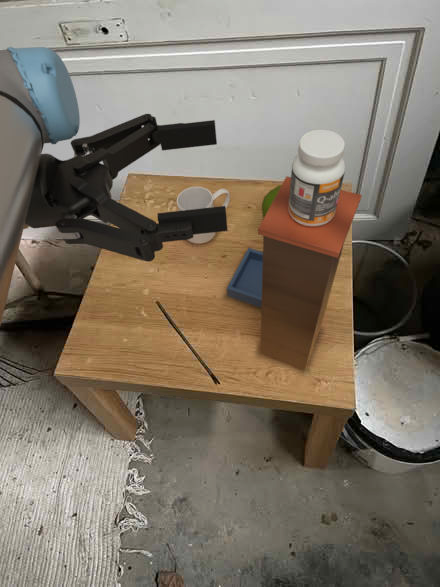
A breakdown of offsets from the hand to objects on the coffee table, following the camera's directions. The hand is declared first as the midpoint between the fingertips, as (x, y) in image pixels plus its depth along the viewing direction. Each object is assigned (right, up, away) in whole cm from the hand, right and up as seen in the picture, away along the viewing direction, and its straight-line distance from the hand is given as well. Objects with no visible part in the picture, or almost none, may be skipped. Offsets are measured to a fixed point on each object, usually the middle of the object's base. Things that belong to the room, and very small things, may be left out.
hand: (221, 171), depth 44 cm
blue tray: (+9, -11, +45) cm, 47 cm away
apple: (+16, +1, +53) cm, 55 cm away
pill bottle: (+11, -3, +7) cm, 14 cm away
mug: (-3, +3, +55) cm, 55 cm away
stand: (+14, -23, +37) cm, 45 cm away
